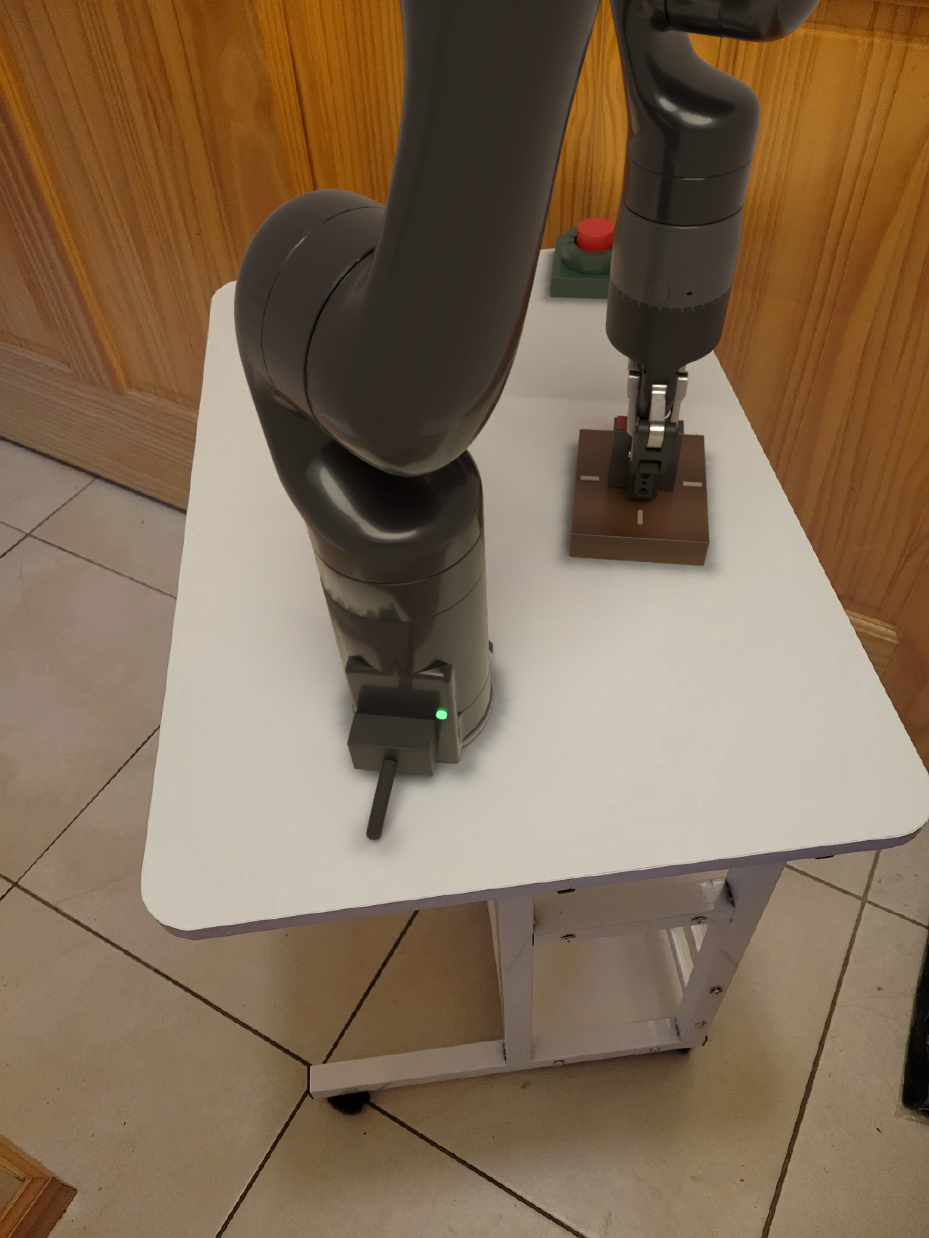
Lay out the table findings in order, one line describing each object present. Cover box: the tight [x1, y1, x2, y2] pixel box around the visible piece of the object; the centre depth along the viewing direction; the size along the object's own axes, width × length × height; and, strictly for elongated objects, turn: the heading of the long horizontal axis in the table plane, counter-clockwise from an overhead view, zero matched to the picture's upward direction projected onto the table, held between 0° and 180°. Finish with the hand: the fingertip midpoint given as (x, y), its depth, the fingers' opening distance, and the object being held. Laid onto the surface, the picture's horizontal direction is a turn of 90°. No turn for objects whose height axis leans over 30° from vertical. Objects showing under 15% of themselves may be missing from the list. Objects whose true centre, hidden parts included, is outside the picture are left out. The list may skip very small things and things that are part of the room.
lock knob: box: [608, 415, 685, 490], centre depth 67 cm, size 5×2×6 cm, turn 83°
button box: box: [550, 225, 615, 300], centre depth 90 cm, size 8×8×4 cm
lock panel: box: [568, 428, 710, 566], centre depth 70 cm, size 12×10×3 cm
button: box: [577, 217, 615, 251], centre depth 88 cm, size 4×4×2 cm
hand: (641, 476), depth 69 cm, fingers open, 3 cm apart
